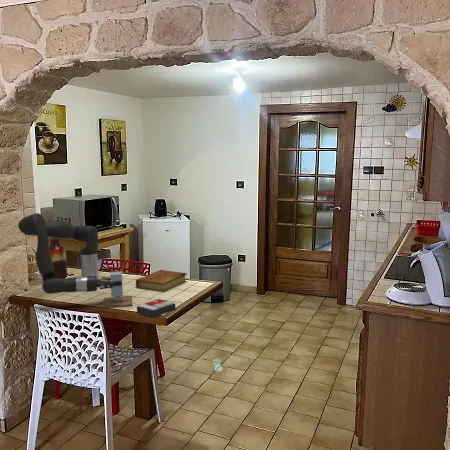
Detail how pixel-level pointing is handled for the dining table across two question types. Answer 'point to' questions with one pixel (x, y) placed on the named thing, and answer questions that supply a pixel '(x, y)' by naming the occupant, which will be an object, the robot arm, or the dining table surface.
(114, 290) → the blue-grey rectangular block
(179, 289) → the dining table surface
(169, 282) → the diary
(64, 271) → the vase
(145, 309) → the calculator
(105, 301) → the post stand
